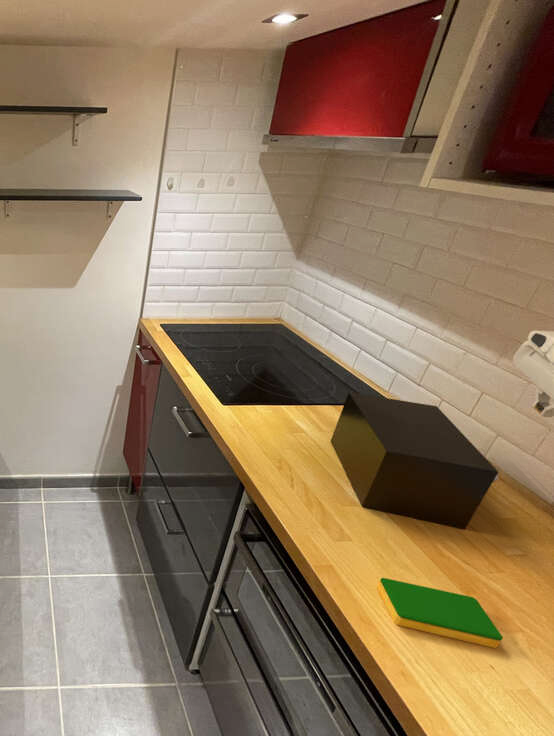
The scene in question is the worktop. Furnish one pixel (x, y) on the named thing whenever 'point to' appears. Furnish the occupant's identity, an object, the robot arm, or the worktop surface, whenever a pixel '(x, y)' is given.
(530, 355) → the robot arm
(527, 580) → the worktop surface
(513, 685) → the worktop surface
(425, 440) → the black box
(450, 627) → the dish sponge
